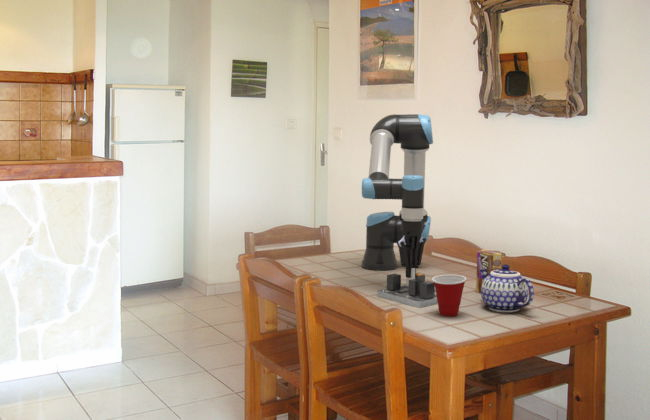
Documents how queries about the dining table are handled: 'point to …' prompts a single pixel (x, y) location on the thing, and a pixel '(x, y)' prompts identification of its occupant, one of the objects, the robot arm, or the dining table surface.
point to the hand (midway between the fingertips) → (410, 286)
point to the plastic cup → (449, 293)
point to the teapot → (505, 290)
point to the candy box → (486, 264)
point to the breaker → (420, 276)
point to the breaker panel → (406, 299)
